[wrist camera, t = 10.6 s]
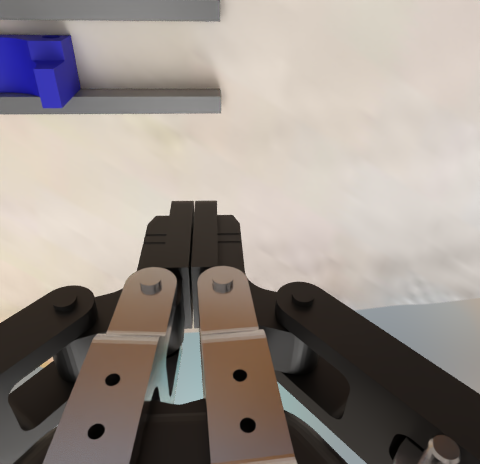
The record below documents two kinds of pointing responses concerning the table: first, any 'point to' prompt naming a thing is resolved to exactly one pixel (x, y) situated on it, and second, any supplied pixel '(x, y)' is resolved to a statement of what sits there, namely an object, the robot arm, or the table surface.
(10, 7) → the grey u-shaped bracket
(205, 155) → the table surface
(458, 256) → the table surface
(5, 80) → the blue u-shaped block
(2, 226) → the table surface
